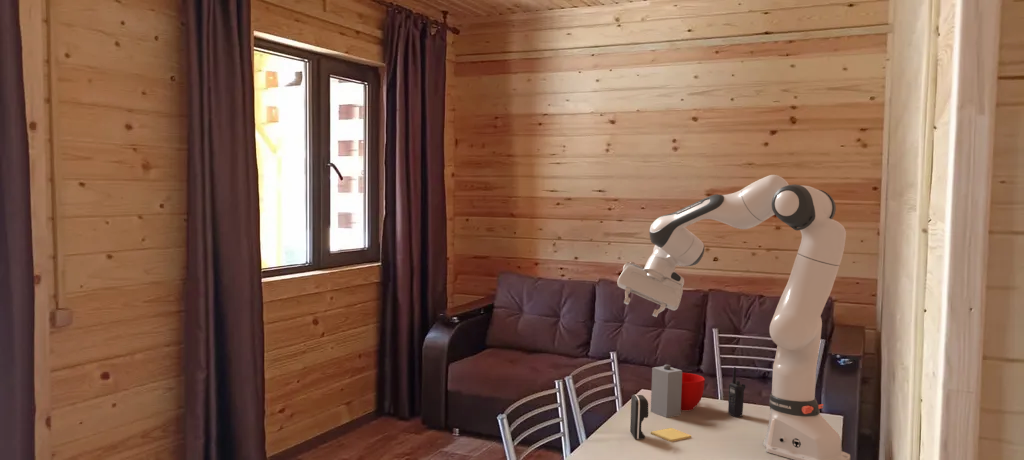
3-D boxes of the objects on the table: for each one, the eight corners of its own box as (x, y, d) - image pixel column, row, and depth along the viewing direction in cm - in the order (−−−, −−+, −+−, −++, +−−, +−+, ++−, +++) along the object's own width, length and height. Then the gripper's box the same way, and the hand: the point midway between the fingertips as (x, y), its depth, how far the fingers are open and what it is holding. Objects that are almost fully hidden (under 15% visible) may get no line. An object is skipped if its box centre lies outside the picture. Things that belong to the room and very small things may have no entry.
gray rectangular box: (680, 414, 236) (682, 366, 235) (666, 417, 233) (668, 368, 232) (663, 408, 242) (665, 361, 241) (649, 411, 239) (651, 363, 238)
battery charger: (648, 440, 210) (649, 399, 210) (634, 440, 210) (636, 399, 210) (642, 432, 217) (644, 393, 217) (629, 432, 217) (631, 392, 217)
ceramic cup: (707, 402, 251) (709, 372, 251) (700, 415, 235) (701, 384, 235) (668, 397, 256) (669, 368, 255) (658, 410, 240) (659, 379, 240)
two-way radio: (725, 413, 239) (727, 366, 239) (738, 412, 241) (740, 365, 240) (735, 418, 234) (737, 370, 233) (748, 417, 235) (750, 369, 235)
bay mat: (691, 437, 214) (691, 435, 214) (670, 442, 209) (670, 439, 209) (670, 429, 221) (671, 427, 220) (650, 433, 216) (650, 431, 216)
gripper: (627, 255, 238) (609, 291, 233) (689, 281, 232) (672, 319, 227) (626, 263, 243) (608, 299, 238) (686, 289, 238) (669, 326, 233)
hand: (640, 309), depth 233 cm, fingers open, 8 cm apart
